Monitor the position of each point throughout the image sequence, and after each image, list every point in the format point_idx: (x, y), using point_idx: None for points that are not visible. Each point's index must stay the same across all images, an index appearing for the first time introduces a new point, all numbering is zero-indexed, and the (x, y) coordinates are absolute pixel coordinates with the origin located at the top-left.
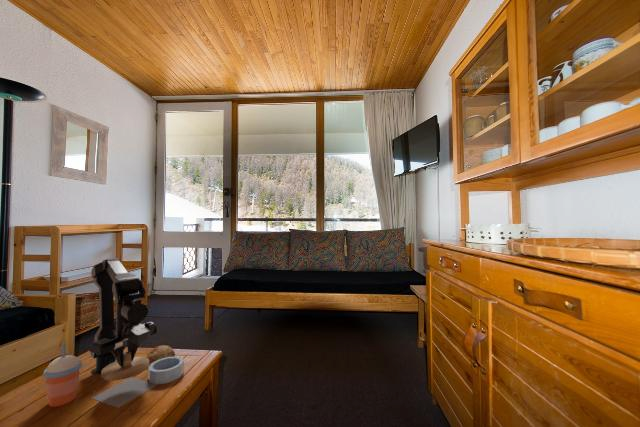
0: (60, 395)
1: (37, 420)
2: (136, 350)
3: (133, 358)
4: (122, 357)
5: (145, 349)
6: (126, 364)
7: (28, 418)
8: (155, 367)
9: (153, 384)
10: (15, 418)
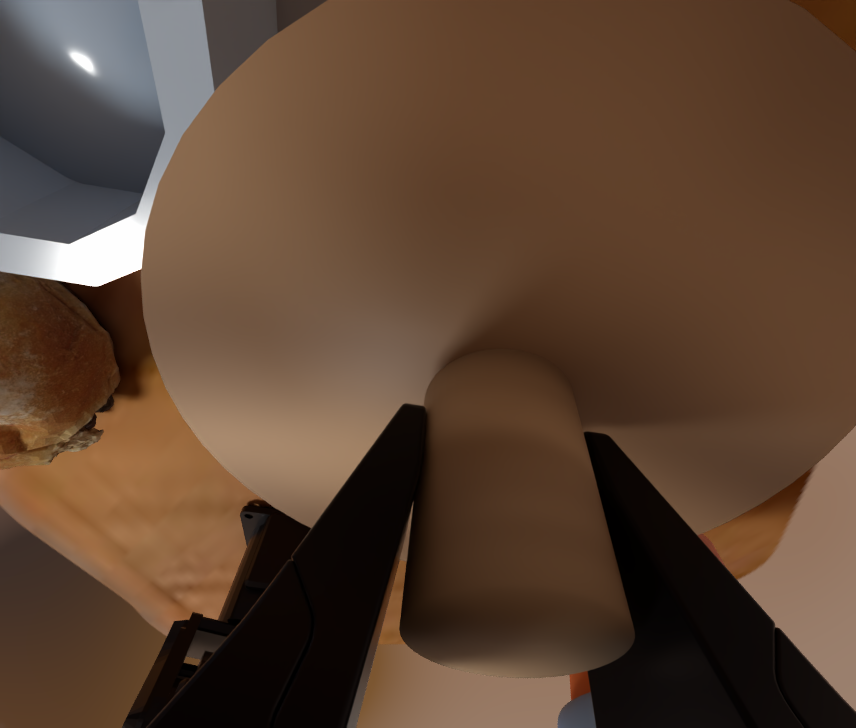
0: (708, 541)
1: (799, 480)
2: (291, 573)
3: (388, 433)
4: (701, 600)
5: (32, 516)
6: (560, 405)
7: (765, 520)
8: (104, 218)
9: (292, 11)
10: (751, 555)
